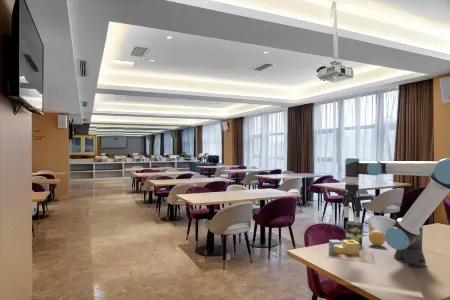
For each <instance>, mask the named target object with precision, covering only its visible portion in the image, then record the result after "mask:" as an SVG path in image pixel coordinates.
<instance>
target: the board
mask: <svg viewBox="0 0 450 300" xmlns="http://www.w3.org/2000/svg"><path fill="white" fill-rule="evenodd" d="M327 258H328V259H335V260H343V261H350V262H355V263H356V262H358V263H364V264H365V263H366V264H372V265H376V260H375V256H374V253H373V252H372V251H366V250H365V251H363V250H360V254H347V253H336V252H335V251H334V253H330V252H329V251H328V255H327Z"/></svg>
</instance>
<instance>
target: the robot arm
mask: <svg viewBox="0 0 450 300" xmlns="http://www.w3.org/2000/svg"><path fill="white" fill-rule="evenodd" d="M344 163H345V164H344V166H345V167H344V172H345V173H344V174H345V176H344V195H343V199H342V202H341V204H342V205H343V218H350V217H349V216H350V215H349V214H350V205H349V204H350V203H351V202H352V204H353V207H354V219H353V221H354V222H355V223H361V212H362V211H363V206H362V202H361V199H360V197H361V196H360V192H359V189H360V188H359V187H360V183H359V182H360V175H365V176H379V175H396V176H397V175H399V176H418V177H419V176H422V177H424V176H425V177H429V179H430V182H429V183H428V184H427V186H426V187H425V188H424V190H423V191H422V192H421V193H420V194H419V195H418V197H417V199H416V200H415V201H414V202H413V204H412V205H411V206H410V208H409V209H408V210H407V211H406V213H405V214H404V216H402V217H400V218H399V217H398V218H397V219H396V220H395V222H394V223H393V224H392V225H391V226H390V227H388V228H387V229H385V232H384V234H385V240H386V241H385V242H386V244H387V245H388V246H389V247H390V248H391V249H394V250H395V252H394V255H393V258H394V260H396V261H398V262H400V263H404V264H407V265H408V267H411V268H424V267H426V266H427V265H426V264H427V261H426V258H425V255H424V251H423V234H424V232H423V230H424V227H423V225H424V223H425V222H426V221H427V220H428V218H429V217H430V216H431V215H432V213H433V212H434V211H436V209H437V207H438V206H439V205H440V204H441V202H443V200H444V199H445V197H446V196H447V195H448V194H449V193H450V157H446V158H442V159H440V160H439V161H402V160H401V161H399V160H398V161H390V160H388V161H385V160H378V161H361V160H360V159H359V158H358V157H346V158H345V162H344ZM357 192H359V193H357Z"/></svg>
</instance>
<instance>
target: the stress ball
mask: <svg viewBox="0 0 450 300" xmlns="http://www.w3.org/2000/svg"><path fill="white" fill-rule="evenodd" d="M368 241H369V242H370V243H371V244H372V245H374V246H375V247H380V246H383V245H384V243H385V242H386V240H385V232H382V231H381V230H380V229H379V230H378V229H373V230H372V231H370V232H369V234H368ZM385 244H386V243H385Z"/></svg>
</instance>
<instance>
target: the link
mask: <svg viewBox="0 0 450 300" xmlns="http://www.w3.org/2000/svg"><path fill="white" fill-rule="evenodd" d="M360 248H361V247H360V243H358V242H357V241H355V240H346V239H342V245H334V251H335V252H336V253H347V254H360V251H361V249H360Z"/></svg>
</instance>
